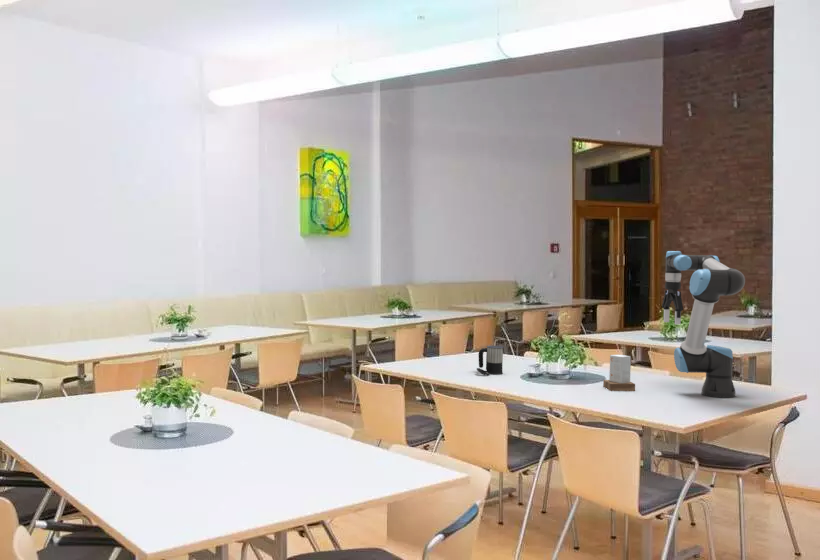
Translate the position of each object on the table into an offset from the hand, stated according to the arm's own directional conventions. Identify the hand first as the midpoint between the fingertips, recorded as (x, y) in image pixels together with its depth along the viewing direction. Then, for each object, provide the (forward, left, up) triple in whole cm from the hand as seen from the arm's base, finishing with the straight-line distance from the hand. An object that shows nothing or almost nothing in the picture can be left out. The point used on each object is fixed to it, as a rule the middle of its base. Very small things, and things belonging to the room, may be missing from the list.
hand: (671, 323), depth 417 cm
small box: (-13, +31, -28) cm, 44 cm away
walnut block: (-13, +31, -32) cm, 46 cm away
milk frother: (+33, +87, -32) cm, 98 cm away
